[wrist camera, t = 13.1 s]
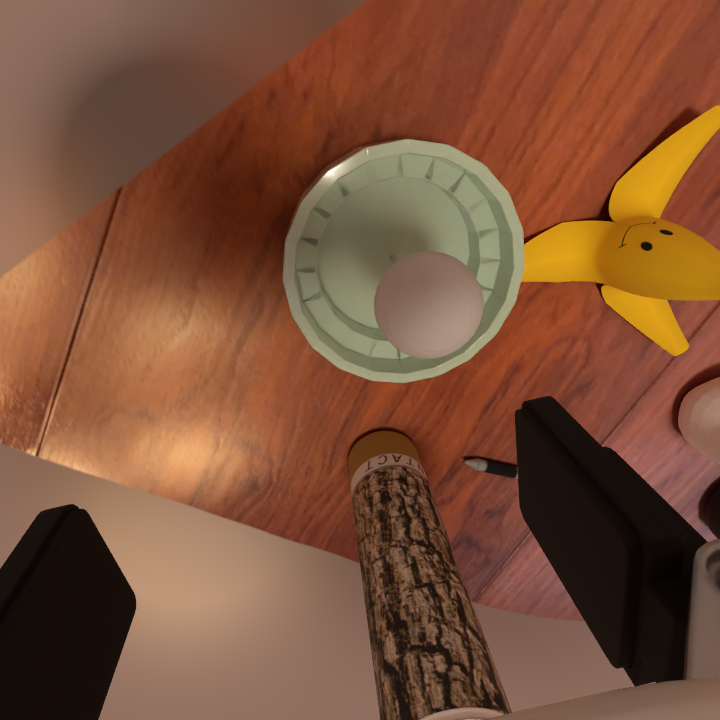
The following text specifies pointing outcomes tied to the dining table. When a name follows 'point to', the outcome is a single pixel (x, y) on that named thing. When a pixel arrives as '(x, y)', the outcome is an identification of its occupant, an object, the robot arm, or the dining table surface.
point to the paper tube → (416, 593)
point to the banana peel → (639, 243)
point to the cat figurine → (702, 419)
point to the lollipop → (428, 304)
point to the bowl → (396, 249)
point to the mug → (714, 513)
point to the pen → (493, 467)
